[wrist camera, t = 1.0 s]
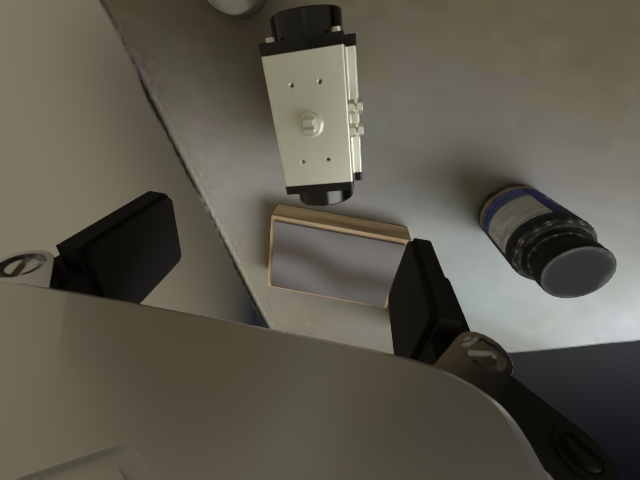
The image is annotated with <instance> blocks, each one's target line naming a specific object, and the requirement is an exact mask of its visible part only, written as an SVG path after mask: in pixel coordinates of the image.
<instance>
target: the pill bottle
mask: <svg viewBox="0 0 640 480" xmlns="http://www.w3.org/2000/svg"><path fill="white" fill-rule="evenodd" d="M479 222H480V226H481V228H482V230H483V231H484V232H485V233H486V235H487V236H488V237H489V239H490V240H491V241H492V242H493V244H494V245H495V246H496V247H497V249H498V250H499V251H500V252H501V254H502V255H503V256H504V257H505V259H506V260H507V261H508V263H509V264H510V265H511V267H512V268H513V269H514V270H515V271H516V272H517V273H518V274H520V275H521V276H523V277H525V278H528V279H531V280H535V281H536V282H537V283H538V285H539V286H540V287H541V288H542V289H543V290H544V291H545V292H547V293H548V294H550V295H552V296H555V297H560V298H574V297H579V296H584V295H586V294H590V293H592V292H594V291H596V290H598V289H599V288H601V287H602V286H603V285H605V284H606V283H607V282H608V281H609V280H610V279H611V278H612V276H613V275H614V273H615V270H616V259H615V257H614V255H613V254H612V253H611V252H610V251H609V250H608V249H606V248H605V247H603V246H602V245H601V244H600V243H598V240H597V235H596V232H595V231H594V229H593V227H592V226H591V225H590V224H589V223H588V222H586V221H584V220H583V219H581V218H580V217H578V216H576V215H575V214H573V213H572V212H570V211H569V210H567V209H566V208H564V207H563V206H561V205H560V204H558V203H557V202H555V201H554V200H552V199H550V198H549V197H547V196H546V195H544V194H543V193H541V192H539V191H538V190H537V189H535V188H532V187H528V186H524V185H510V186H506V187H504V188H501V189H500V190H498V191H496V192H494V193H493V194H491V195H490V196H489V197H488V198H487V199H486V200H485V202H484V203H483V204H482V206H481V208H480V211H479Z"/></svg>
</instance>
